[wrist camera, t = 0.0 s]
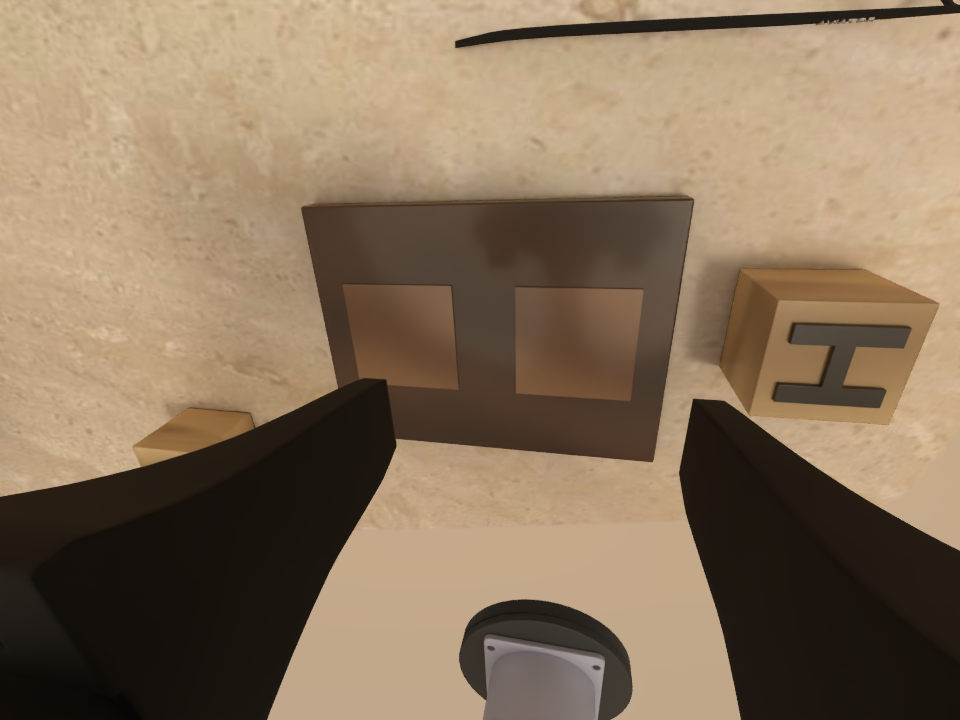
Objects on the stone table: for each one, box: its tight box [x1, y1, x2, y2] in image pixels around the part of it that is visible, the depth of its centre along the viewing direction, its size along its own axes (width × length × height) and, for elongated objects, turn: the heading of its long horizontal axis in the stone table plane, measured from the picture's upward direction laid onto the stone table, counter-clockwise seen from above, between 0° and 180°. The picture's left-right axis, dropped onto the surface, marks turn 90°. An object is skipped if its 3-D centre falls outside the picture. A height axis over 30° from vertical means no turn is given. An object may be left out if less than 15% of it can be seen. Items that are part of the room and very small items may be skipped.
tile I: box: [132, 408, 255, 467], centre depth 26 cm, size 4×4×4 cm
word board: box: [301, 196, 694, 462], centre depth 21 cm, size 12×16×1 cm
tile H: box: [720, 269, 939, 425], centre depth 16 cm, size 4×4×4 cm
